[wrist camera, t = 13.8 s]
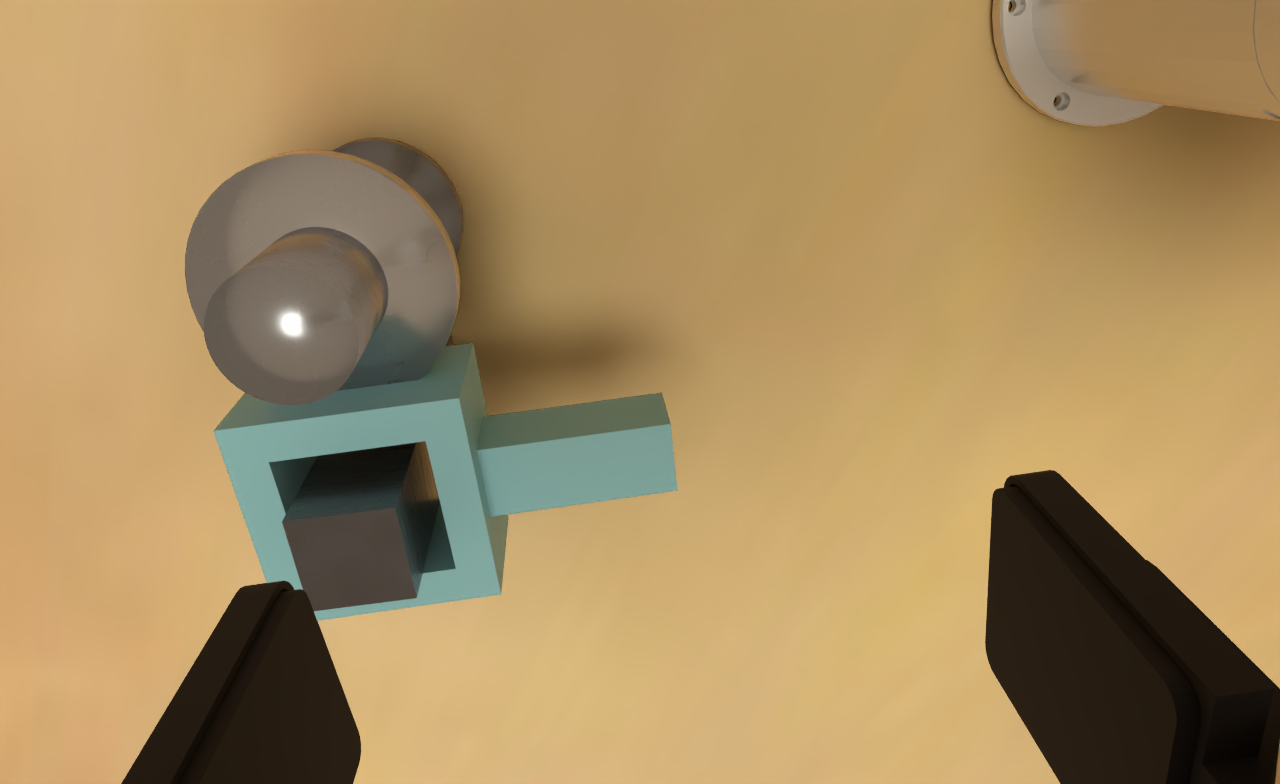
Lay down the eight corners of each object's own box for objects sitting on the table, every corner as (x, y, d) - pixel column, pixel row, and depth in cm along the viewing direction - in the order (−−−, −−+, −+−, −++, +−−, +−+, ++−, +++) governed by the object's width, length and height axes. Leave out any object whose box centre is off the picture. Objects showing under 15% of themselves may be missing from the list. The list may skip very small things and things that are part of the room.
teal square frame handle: (651, 319, 38) (667, 370, 32) (670, 495, 42) (687, 567, 36) (263, 370, 37) (213, 431, 32) (318, 544, 41) (282, 625, 35)
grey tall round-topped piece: (462, 105, 42) (402, 161, 26) (497, 297, 46) (465, 452, 30) (259, 130, 42) (65, 203, 25) (313, 321, 46) (176, 491, 29)
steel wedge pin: (451, 336, 47) (394, 507, 30) (463, 401, 48) (416, 598, 32) (378, 344, 46) (281, 521, 30) (393, 409, 48) (309, 611, 32)
